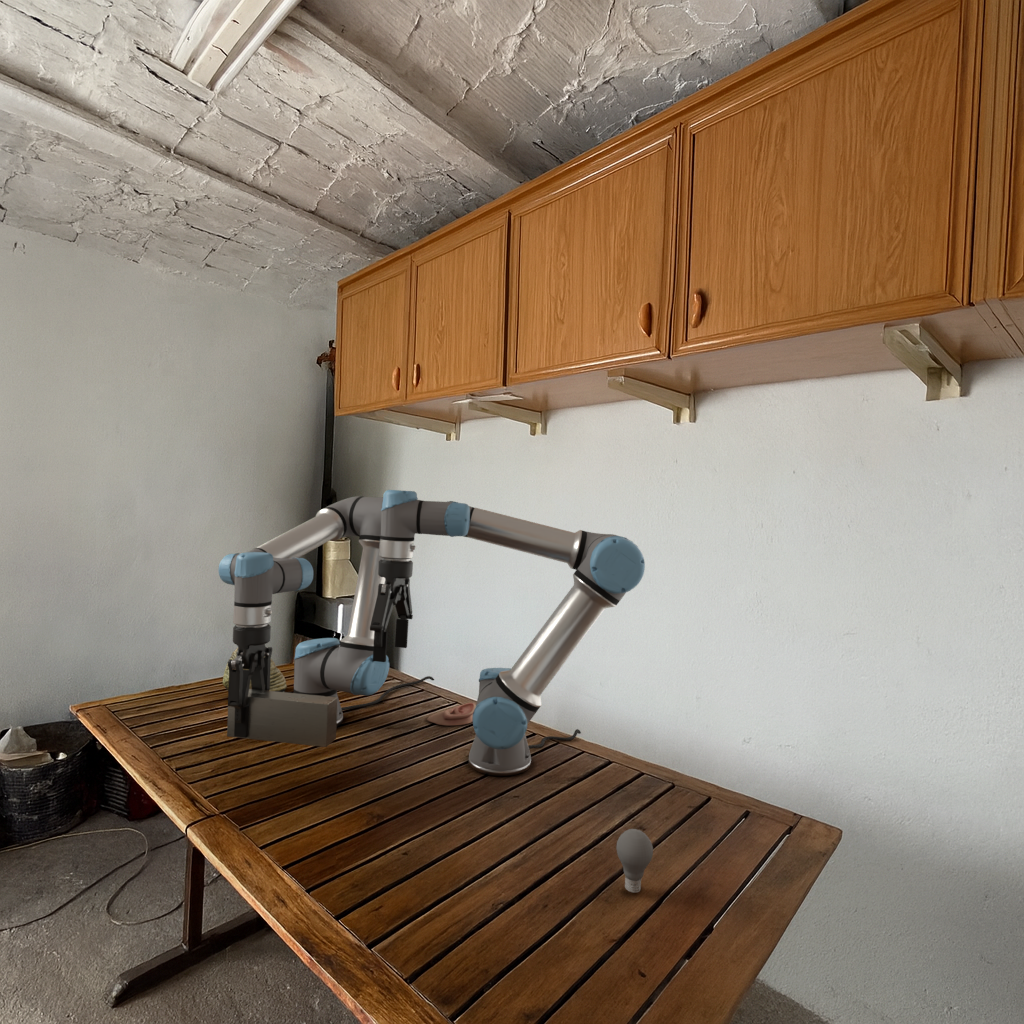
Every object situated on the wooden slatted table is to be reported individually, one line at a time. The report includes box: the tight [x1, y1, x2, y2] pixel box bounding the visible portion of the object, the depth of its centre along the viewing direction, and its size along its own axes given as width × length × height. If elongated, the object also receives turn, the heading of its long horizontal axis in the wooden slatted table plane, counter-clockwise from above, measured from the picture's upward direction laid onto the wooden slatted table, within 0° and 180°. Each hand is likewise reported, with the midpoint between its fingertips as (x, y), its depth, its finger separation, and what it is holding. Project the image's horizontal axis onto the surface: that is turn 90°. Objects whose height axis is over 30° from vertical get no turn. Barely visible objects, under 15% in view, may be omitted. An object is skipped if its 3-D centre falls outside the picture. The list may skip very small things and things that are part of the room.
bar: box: [226, 689, 339, 748], centre depth 135 cm, size 22×5×9 cm, turn 81°
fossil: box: [222, 647, 288, 692], centre depth 198 cm, size 9×18×15 cm, turn 132°
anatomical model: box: [426, 702, 476, 726], centre depth 183 cm, size 13×4×12 cm
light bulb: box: [615, 828, 654, 894], centre depth 106 cm, size 6×6×10 cm
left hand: (248, 731), depth 137 cm, fingers closed on bar, 5 cm apart
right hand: (390, 654), depth 141 cm, fingers open, 13 cm apart
